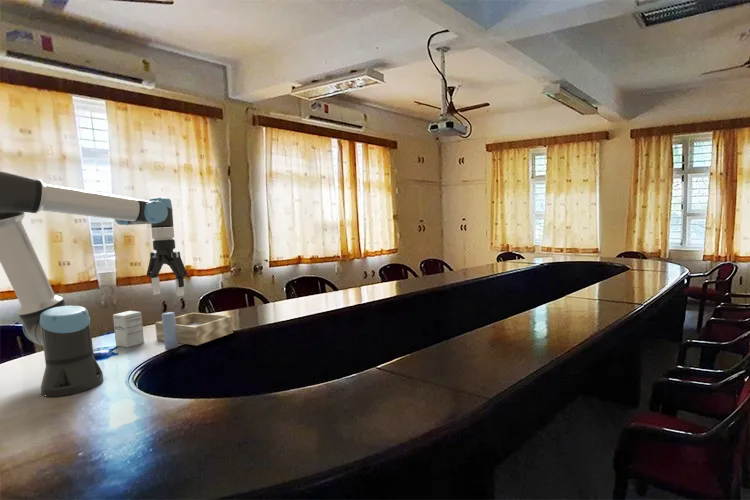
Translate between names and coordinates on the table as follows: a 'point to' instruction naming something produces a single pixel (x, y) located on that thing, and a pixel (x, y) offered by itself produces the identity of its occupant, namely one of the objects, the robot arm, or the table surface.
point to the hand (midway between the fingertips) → (168, 295)
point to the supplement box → (128, 328)
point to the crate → (198, 328)
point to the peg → (169, 330)
